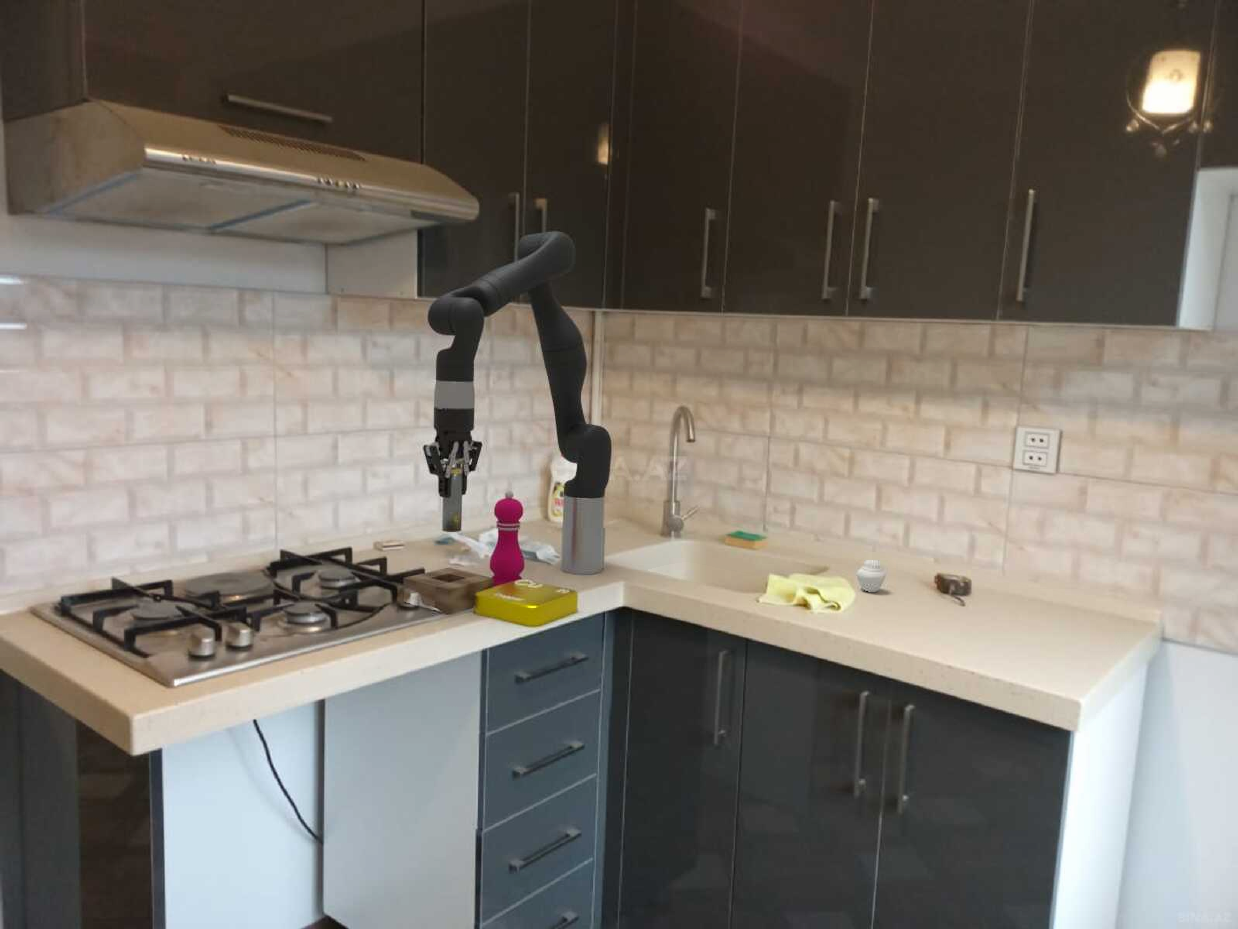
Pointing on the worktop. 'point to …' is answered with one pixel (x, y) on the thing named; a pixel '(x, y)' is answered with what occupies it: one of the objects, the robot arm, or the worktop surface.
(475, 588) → the pin block
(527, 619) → the element tile
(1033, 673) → the worktop surface
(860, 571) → the white rounded jar
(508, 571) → the pepper mill
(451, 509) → the metal pin
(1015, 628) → the worktop surface
